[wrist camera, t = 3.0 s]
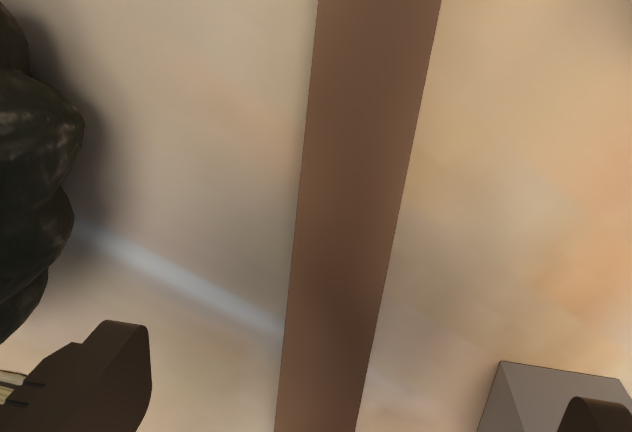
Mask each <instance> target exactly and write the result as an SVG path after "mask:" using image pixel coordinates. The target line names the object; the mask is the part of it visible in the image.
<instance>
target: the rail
mask: <svg viewBox="0 0 632 432" xmlns="http://www.w3.org/2000/svg"><path fill="white" fill-rule="evenodd" d="M440 5H441V0H318V9H317V19H316V29H315V38H314V48H313V58H312V67H311V77H310V87H309V97H308V106H307V116H306V126H305V136H304V145H303V155H302V165H301V175H300V184H299V194H298V204H297V213H296V223H295V233H294V243H293V252H292V262H291V272H290V282H289V291H288V301H287V311H286V321H285V330H284V340H283V350H282V360H281V369H280V379H279V389H278V398H277V408H276V418H275V428H274V432H355V427H356V422H357V418H358V413H359V408H360V403H361V398H362V393H363V388H364V383H365V378H366V373H367V368H368V363H369V358H370V353H371V348H372V343H373V338H374V333H375V328H376V323H377V318H378V313H379V308H380V303H381V298H382V293H383V288H384V283H385V278H386V273H387V268H388V263H389V258H390V253H391V248H392V244H393V239H394V234H395V229H396V224H397V219H398V214H399V209H400V204H401V199H402V194H403V189H404V184H405V179H406V174H407V169H408V164H409V159H410V154H411V149H412V144H413V139H414V134H415V129H416V124H417V119H418V114H419V109H420V104H421V99H422V94H423V89H424V84H425V79H426V74H427V70H428V65H429V60H430V55H431V50H432V45H433V40H434V35H435V30H436V25H437V20H438V15H439V10H440Z"/></svg>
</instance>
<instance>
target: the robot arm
mask: <svg viewBox="0 0 632 432" xmlns="http://www.w3.org/2000/svg"><path fill="white" fill-rule="evenodd" d="M151 391H152V379H151V364H150V350H149V335H148V330H147V328H146V327H145V326H143V325H137V324H131V323H125V322H119V321H112V320H105V321H103V322H101V323H100V324H99V325H98V326H97V328H96V329H95V330H94V331H93V332H92V333H91V334H90V335H89V337H88V338H87V339H86V340H85V341H84V342H83V343H82V344H80V343H74V342H71V343H69V344H68V345H66V346H64V347H63V348H61V349H59V350H58V351H56V352H54V353H53V354H51V355H49V356H48V357H46V358H44V359H43V360H42V361H41V362H40V363H39V364H38V365H37V366H36V367H35V369H34V370H33V371H32V372H31V373H30V374H29V375H28V376H27V377H26V378H25V379H24V380H23V383H22V385H18V386H17V387H16V388H15V389H14V390H13V392H12V393H11V394H10V395H9V396H8V397H7V398H6V399H5V402H4V404H0V432H136V430H137V428H138V427H139V425H140V423H141V421H142V420H143V418H144V416H145V413H146V411H147V408H148V405H149V402H150V397H151ZM557 432H632V415H631V413H630V411H629V410H628V409H627V408H626V407H625V406H624V405H623V404H621V403H616V402H610V401H604V400H597V399H591V398H585V397H579V396H576V397H573V398H572V399H571V400H570V402H569V403H568V406H567V408H566V410H565V413H564V415H563V418H562V420H561V422H560V425H559V427H558V430H557Z"/></svg>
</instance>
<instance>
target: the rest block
mask: <svg viewBox="0 0 632 432" xmlns="http://www.w3.org/2000/svg"><path fill="white" fill-rule="evenodd" d="M576 396H579V397H585V398H591V399H597V400H604V401H610V402H616V403H621V404H623V405H624V406H625V407H626V408H627V409H628V410H629V411H630V413H631V415H632V399H631V397H630V396H629V394H628V393H627V391H626V390H625V388H624V386H623V385H622V383H621V382H620V380H619V379H612V378H606V377H600V376H593V375H587V374H580V373H574V372H568V371H561V370H555V369H548V368H542V367H536V366H529V365H523V364H516V363H510V362H503V361H501V362H500V365H499V368H498V371H497V374H496V377H495V380H494V383H493V386H492V389H491V392H490V394H489V397H488V400H487V403H486V406H485V409H484V412H483V415H482V418H481V421H480V424H479V427H478V430H477V432H557V430H558V427H559V425H560V422H561V420H562V418H563V415H564V413H565V410H566V408H567V406H568V403H569V402H570V400H571V399H572V398H573V397H576Z"/></svg>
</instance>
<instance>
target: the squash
mask: <svg viewBox="0 0 632 432" xmlns="http://www.w3.org/2000/svg"><path fill="white" fill-rule="evenodd" d="M29 71H30V60H29V50H28V43H27V40H26V38H25V36H24V34H23V31H22V30H21V28H20V26H19V25H18V23H17V22H16V20H15V18H14V17H13V16H12V15H11V14H10V12H9V11H8V10H7V9H6V8H5V6H4V5H3V4H2V3H1V2H0V344H1V343H3V342H4V341H5V340H6V339H7V338H8V337H9V336H10V335H11V334H13V333H14V332H15V331H16V330H17V329H18V328H19V327H20V326H21V325H22V324H23V323H24V322H25V321H26V319H27V318H28V317H29V315H30V314H31V313H32V312H33V310H34V309H35V308H36V306H37V305H38V304H39V302H40V300H41V297H42V295H43V293H44V290H45V288H46V285H47V280H48V267H49V266H50V265H51V264H52V263H53V262H54V261H55V259H56V258H57V257H58V256H59V254H60V253H61V251H62V249H63V247H64V245H65V243H66V241H67V239H68V237H69V235H70V233H71V231H72V228H73V224H74V214H73V211H72V208H71V205H70V202H69V199H68V197H67V195H66V193H65V192H64V190H63V188H62V186H61V185H60V184H61V182H62V181H63V179H64V178H65V177H66V175H67V174H68V172H69V170H70V168H71V166H72V164H73V162H74V160H75V158H76V156H77V154H78V152H79V150H80V148H81V146H82V141H83V133H84V126H85V125H84V121H83V117H82V116H81V114H80V113H79V111H78V110H77V109H76V107H75V106H74V105H73V104H72V103H71V102H69V101H68V100H67V99H66V98H65V97H64V96H63V95H62V94H60V93H59V92H58V91H56V90H55V89H53V88H51V87H50V86H48V85H46V84H44V83H42V82H40V81H38V80H36V79H34V78H32V77H29Z"/></svg>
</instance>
